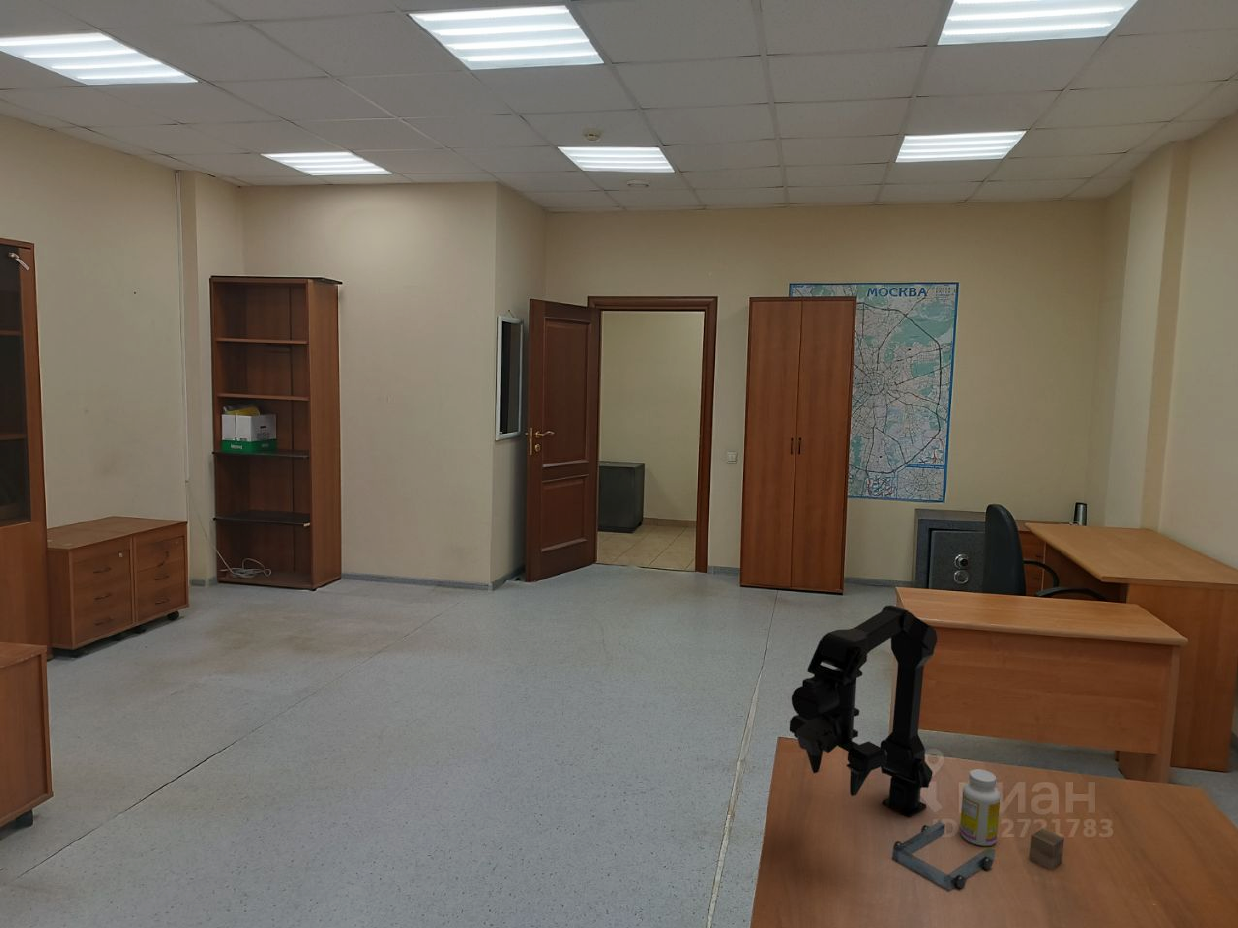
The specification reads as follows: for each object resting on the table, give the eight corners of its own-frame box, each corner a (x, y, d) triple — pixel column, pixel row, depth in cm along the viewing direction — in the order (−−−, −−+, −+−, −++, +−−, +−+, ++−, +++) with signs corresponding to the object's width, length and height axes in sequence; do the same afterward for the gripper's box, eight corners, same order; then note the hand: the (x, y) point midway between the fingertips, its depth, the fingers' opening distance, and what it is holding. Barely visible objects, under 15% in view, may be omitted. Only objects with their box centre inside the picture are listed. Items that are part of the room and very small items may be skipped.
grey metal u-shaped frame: (933, 828, 164) (934, 818, 163) (999, 862, 153) (1000, 852, 153) (887, 855, 154) (888, 845, 154) (954, 893, 144) (955, 883, 144)
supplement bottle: (995, 831, 163) (1000, 770, 161) (998, 850, 157) (1004, 786, 155) (958, 824, 165) (963, 763, 163) (960, 842, 159) (965, 780, 157)
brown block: (1039, 852, 157) (1042, 827, 156) (1061, 862, 153) (1063, 837, 153) (1029, 859, 154) (1031, 834, 153) (1051, 870, 151) (1053, 845, 150)
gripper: (769, 694, 154) (766, 772, 156) (847, 734, 138) (842, 821, 140) (812, 681, 160) (809, 757, 162) (891, 719, 144) (886, 802, 146)
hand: (834, 783), depth 152 cm, fingers open, 9 cm apart
